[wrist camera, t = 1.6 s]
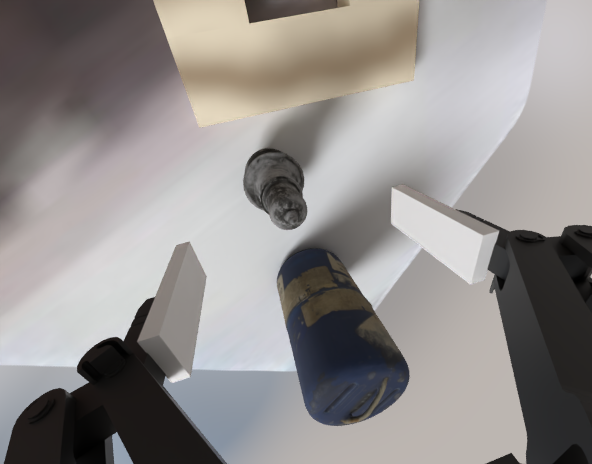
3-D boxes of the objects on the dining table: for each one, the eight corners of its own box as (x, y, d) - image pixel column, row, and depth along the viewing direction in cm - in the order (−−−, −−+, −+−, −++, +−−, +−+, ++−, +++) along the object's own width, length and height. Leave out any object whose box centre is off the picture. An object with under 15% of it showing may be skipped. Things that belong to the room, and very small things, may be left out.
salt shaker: (292, 141, 25) (335, 171, 15) (298, 194, 28) (337, 249, 18) (236, 150, 24) (239, 188, 14) (248, 203, 27) (258, 267, 17)
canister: (351, 265, 35) (444, 394, 20) (307, 306, 37) (359, 451, 22) (308, 230, 30) (386, 363, 15) (260, 279, 32) (285, 440, 17)
